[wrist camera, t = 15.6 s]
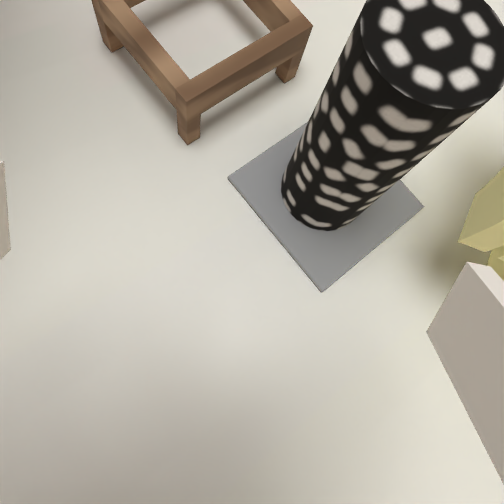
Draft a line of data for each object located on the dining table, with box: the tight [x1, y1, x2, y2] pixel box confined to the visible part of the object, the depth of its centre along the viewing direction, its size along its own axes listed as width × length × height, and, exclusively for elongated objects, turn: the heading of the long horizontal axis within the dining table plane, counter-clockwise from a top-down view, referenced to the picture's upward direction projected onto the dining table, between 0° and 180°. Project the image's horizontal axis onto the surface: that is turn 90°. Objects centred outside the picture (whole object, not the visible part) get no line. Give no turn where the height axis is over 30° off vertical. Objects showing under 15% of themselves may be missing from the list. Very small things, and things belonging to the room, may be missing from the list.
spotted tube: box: [281, 0, 504, 231], centre depth 31 cm, size 8×8×20 cm
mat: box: [228, 122, 424, 292], centre depth 41 cm, size 14×14×1 cm
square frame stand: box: [92, 0, 313, 145], centre depth 40 cm, size 14×14×7 cm
